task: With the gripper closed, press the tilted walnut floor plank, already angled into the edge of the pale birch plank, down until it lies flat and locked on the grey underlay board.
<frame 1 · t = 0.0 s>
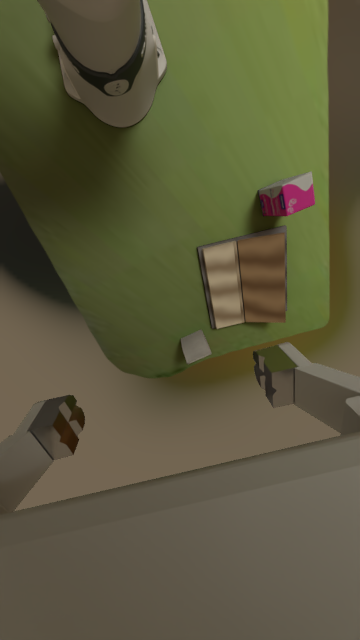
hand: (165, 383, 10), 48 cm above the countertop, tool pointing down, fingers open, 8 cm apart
walnut plank: (262, 282, 54), point 4 cm above the countertop, hinge at 30.0°
white food carton: (193, 338, 65), on the countertop
supplement box: (270, 199, 51), on the countertop
floor board: (244, 280, 58), on the countertop
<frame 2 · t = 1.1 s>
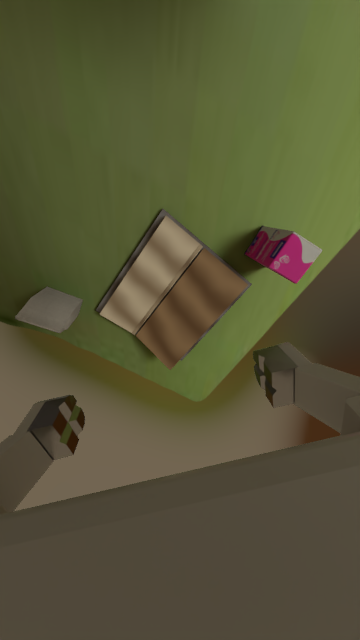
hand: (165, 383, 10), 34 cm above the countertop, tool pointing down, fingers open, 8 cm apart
walnut plank: (187, 312, 41), point 4 cm above the countertop, hinge at 30.0°
white food carton: (63, 300, 43), on the countertop
supplement box: (263, 247, 42), on the countertop
floor board: (173, 295, 44), on the countertop
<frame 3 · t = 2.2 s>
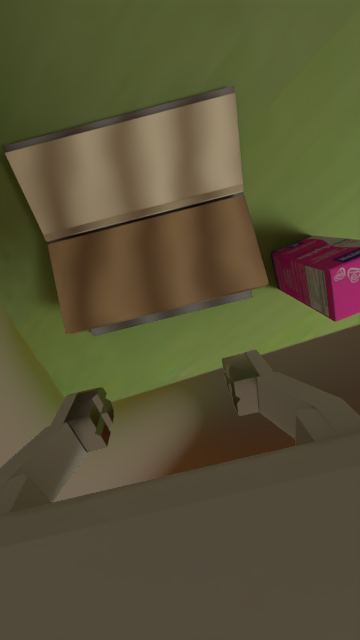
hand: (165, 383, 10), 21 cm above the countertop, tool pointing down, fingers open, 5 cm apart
walnut plank: (156, 265, 24), point 4 cm above the countertop, hinge at 30.0°
supplement box: (292, 262, 30), on the countertop
floor board: (150, 234, 27), on the countertop
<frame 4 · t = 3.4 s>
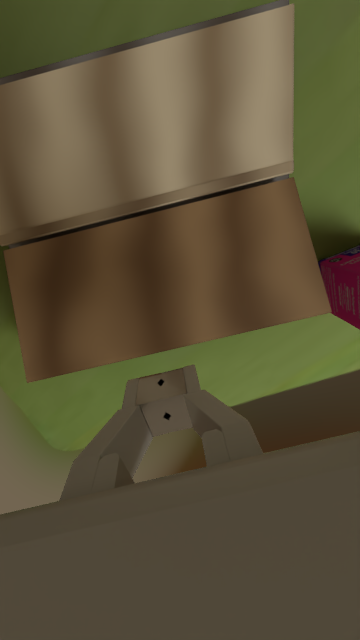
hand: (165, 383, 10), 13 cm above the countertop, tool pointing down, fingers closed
walnut plank: (161, 282, 16), point 4 cm above the countertop, hinge at 30.0°
supplement box: (345, 274, 22), on the countertop
floor board: (153, 235, 19), on the countertop
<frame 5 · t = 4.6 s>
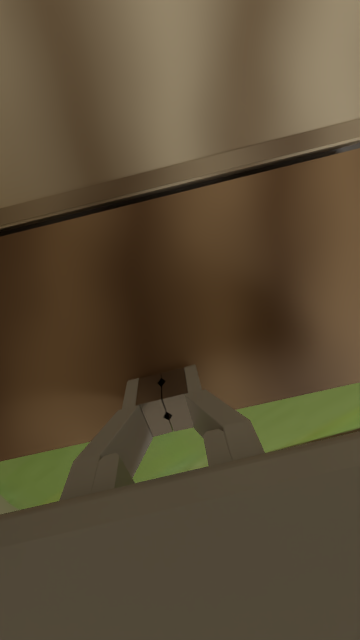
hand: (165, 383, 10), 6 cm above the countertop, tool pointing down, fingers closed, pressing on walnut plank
walnut plank: (157, 316, 10), point 4 cm above the countertop, hinge at 22.0°, touching gripper
floor board: (144, 239, 12), on the countertop
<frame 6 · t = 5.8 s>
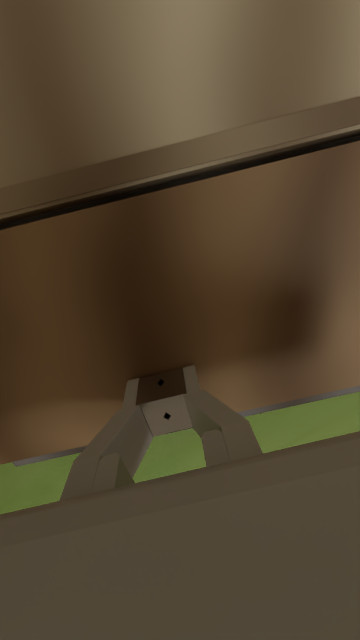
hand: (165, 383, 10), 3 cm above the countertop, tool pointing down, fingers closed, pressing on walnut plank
walnut plank: (159, 331, 9), point 2 cm above the countertop, hinge at 0.8°, touching gripper
floor board: (140, 247, 10), on the countertop
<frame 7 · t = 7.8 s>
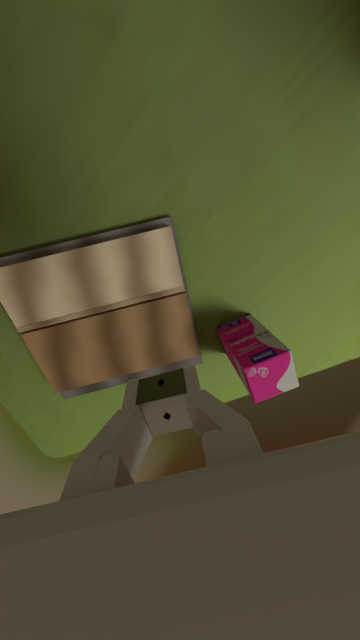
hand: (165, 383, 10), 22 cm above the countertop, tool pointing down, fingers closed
walnut plank: (117, 343, 31), point 2 cm above the countertop, hinge at 0.7°
supplement box: (236, 333, 35), on the countertop
floor board: (111, 317, 31), on the countertop
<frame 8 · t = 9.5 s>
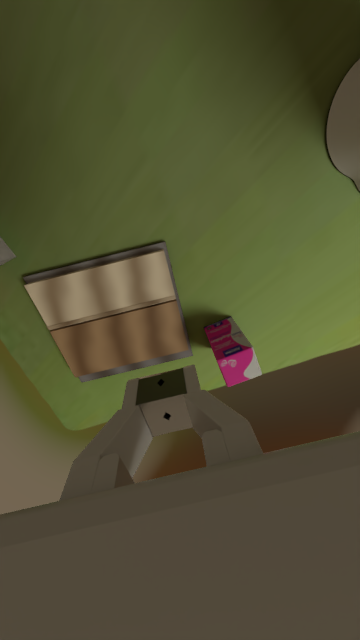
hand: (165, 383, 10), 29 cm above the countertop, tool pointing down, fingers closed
walnut plank: (123, 339, 39), point 2 cm above the countertop, hinge at 0.7°
supplement box: (220, 332, 43), on the countertop
floor board: (118, 318, 39), on the countertop
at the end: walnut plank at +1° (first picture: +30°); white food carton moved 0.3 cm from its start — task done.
